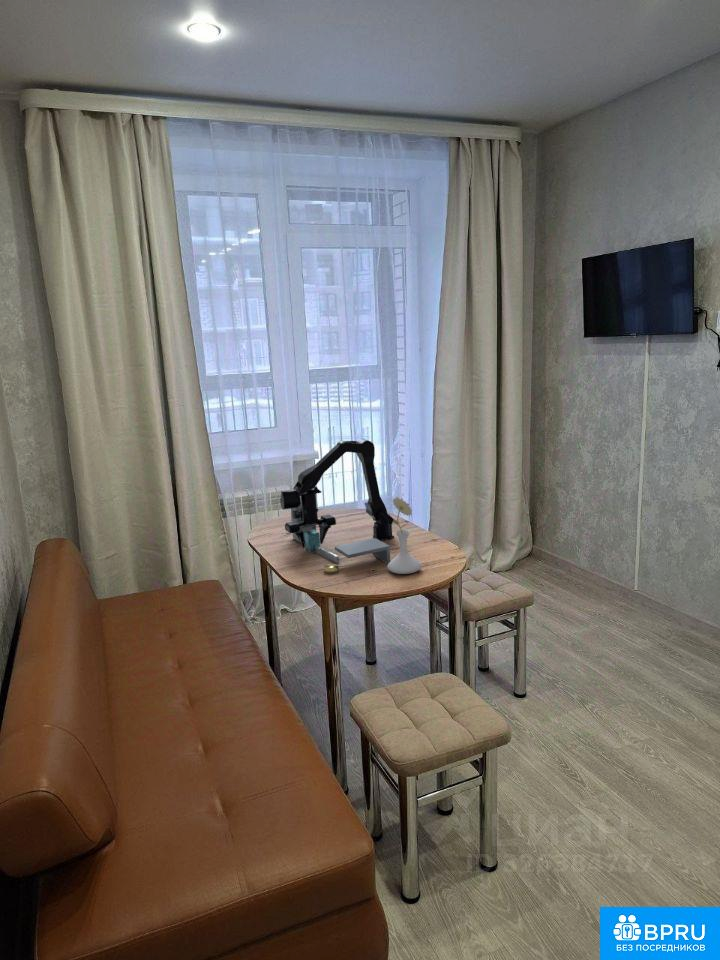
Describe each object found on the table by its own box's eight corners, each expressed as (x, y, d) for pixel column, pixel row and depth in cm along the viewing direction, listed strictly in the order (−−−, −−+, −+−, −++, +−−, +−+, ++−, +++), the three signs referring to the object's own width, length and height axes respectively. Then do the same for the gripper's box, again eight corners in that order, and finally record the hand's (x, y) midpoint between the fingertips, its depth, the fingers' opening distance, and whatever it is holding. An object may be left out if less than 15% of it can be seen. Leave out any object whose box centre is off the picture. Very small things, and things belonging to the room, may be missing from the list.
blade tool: (315, 547, 251) (313, 530, 250) (342, 561, 234) (341, 542, 233) (305, 549, 249) (304, 532, 248) (332, 564, 232) (331, 545, 231)
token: (333, 568, 229) (332, 562, 228) (341, 572, 225) (341, 566, 224) (321, 572, 226) (320, 566, 225) (329, 575, 222) (329, 570, 221)
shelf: (375, 554, 240) (374, 538, 238) (390, 562, 230) (389, 545, 229) (335, 563, 233) (334, 546, 232) (349, 572, 223) (348, 554, 222)
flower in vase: (426, 574, 218) (424, 500, 212) (394, 579, 215) (390, 505, 209) (412, 561, 230) (409, 492, 224) (381, 566, 227) (377, 496, 221)
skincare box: (298, 542, 259) (295, 503, 255) (291, 538, 265) (288, 500, 261) (318, 538, 262) (315, 500, 259) (311, 534, 269) (308, 496, 265)
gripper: (323, 497, 256) (326, 535, 260) (278, 505, 248) (281, 544, 252) (335, 503, 247) (338, 542, 250) (288, 511, 239) (292, 552, 242)
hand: (312, 545), depth 249 cm, fingers open, 7 cm apart
